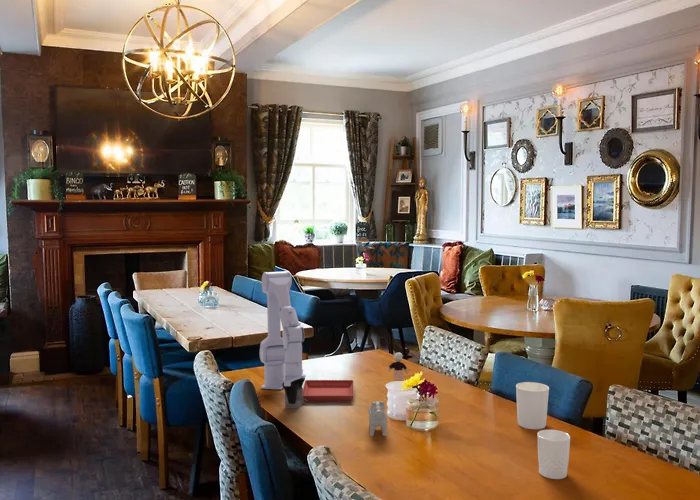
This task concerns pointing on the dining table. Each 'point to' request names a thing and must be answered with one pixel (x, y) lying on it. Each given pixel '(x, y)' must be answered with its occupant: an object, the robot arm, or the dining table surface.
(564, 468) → the white cup
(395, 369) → the grandmother figurine
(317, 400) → the plant saucer
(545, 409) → the candle holder
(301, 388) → the charcoal block
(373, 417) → the dog figurine
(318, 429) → the dining table surface
